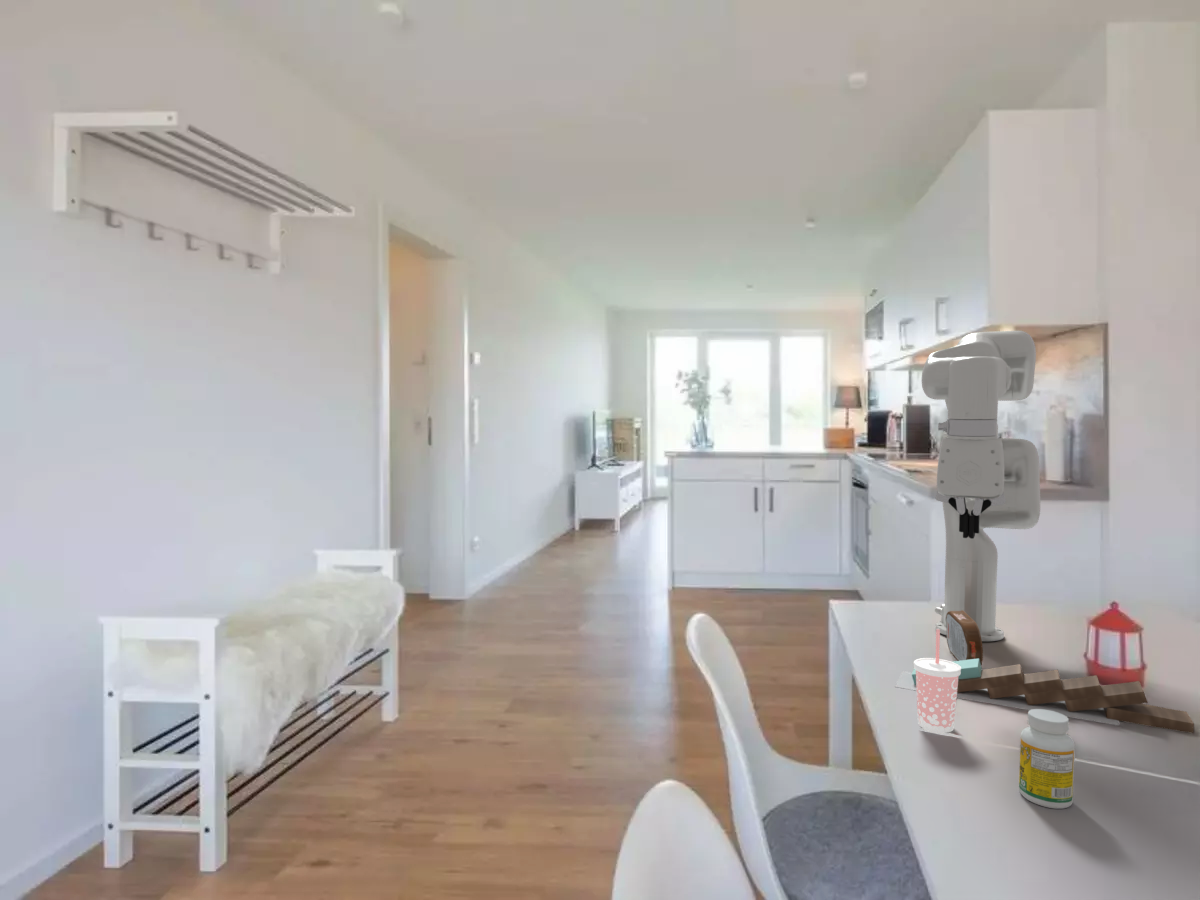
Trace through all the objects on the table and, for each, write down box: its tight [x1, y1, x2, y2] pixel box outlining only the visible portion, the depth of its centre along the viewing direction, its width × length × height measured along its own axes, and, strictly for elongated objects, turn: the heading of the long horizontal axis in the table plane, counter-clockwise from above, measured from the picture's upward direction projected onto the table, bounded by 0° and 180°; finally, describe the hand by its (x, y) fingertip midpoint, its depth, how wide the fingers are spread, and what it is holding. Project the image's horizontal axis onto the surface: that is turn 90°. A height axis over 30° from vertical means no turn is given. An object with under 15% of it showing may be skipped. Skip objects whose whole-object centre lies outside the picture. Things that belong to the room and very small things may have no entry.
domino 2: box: [957, 663, 1025, 692], centre depth 118 cm, size 2×5×10 cm
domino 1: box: [912, 658, 983, 684], centre depth 122 cm, size 2×5×10 cm
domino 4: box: [1025, 675, 1103, 705], centre depth 113 cm, size 2×5×10 cm
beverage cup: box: [913, 629, 961, 735], centre depth 105 cm, size 6×6×14 cm
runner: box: [894, 670, 1120, 726], centre depth 117 cm, size 30×9×1 cm, turn 61°
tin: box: [945, 610, 984, 667], centre depth 135 cm, size 15×3×8 cm, turn 168°
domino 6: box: [1103, 703, 1195, 734], centre depth 108 cm, size 2×5×10 cm
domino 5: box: [1065, 680, 1149, 712], centre depth 111 cm, size 2×5×10 cm
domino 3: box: [987, 669, 1063, 699], centre depth 116 cm, size 2×5×10 cm
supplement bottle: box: [1018, 709, 1076, 810], centre depth 85 cm, size 5×5×10 cm
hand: (968, 536), depth 128 cm, fingers closed
